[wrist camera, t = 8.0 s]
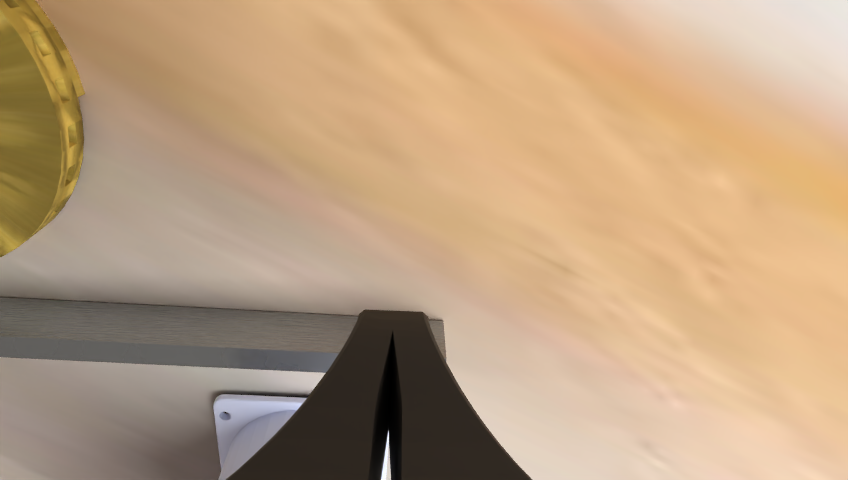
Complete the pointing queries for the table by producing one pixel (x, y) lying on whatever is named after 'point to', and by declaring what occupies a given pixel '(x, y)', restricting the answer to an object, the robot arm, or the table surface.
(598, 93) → the table surface
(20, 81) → the gold round shallow dish
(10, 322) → the bay
